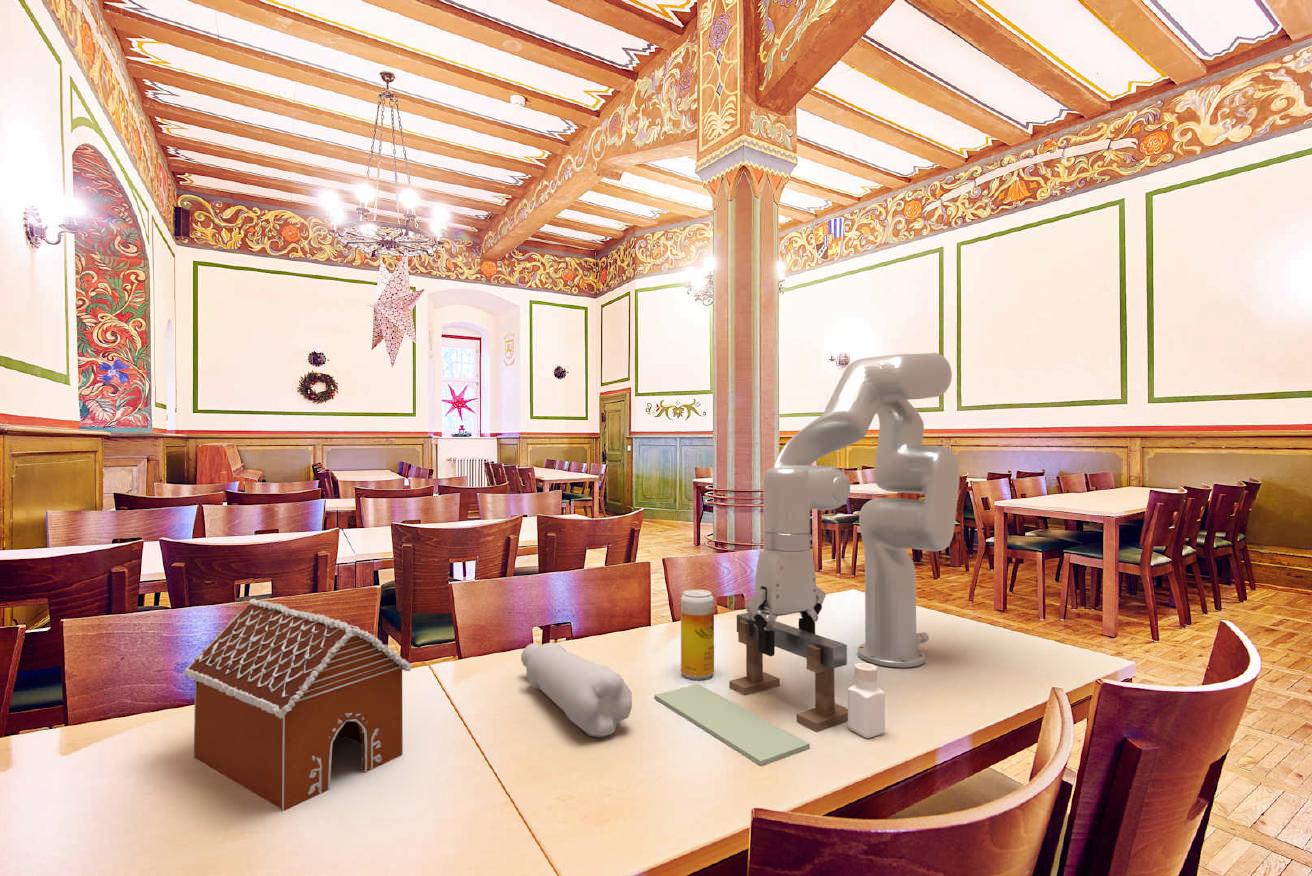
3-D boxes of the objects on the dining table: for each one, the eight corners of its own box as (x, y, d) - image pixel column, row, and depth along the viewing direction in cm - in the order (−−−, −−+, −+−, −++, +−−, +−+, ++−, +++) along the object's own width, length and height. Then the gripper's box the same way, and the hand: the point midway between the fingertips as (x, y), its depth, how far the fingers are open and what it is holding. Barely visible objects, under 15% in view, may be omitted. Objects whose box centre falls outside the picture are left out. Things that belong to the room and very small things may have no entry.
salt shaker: (866, 740, 88) (866, 673, 88) (846, 729, 91) (845, 664, 92) (886, 734, 90) (886, 668, 90) (865, 723, 93) (865, 660, 94)
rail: (736, 631, 110) (736, 614, 110) (749, 629, 111) (749, 612, 112) (833, 668, 91) (832, 648, 91) (846, 664, 93) (846, 644, 93)
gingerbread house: (275, 822, 69) (278, 641, 69) (175, 760, 82) (177, 609, 83) (418, 753, 84) (420, 606, 85) (314, 711, 98) (315, 584, 99)
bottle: (647, 707, 92) (565, 656, 117) (617, 661, 89) (539, 620, 115) (602, 755, 87) (526, 692, 113) (568, 708, 85) (499, 655, 110)
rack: (764, 678, 112) (763, 614, 112) (853, 719, 95) (852, 643, 95) (729, 687, 107) (729, 621, 108) (816, 731, 91) (815, 652, 91)
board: (698, 687, 108) (698, 684, 108) (809, 748, 86) (809, 743, 86) (654, 698, 103) (654, 694, 103) (760, 765, 81) (760, 761, 81)
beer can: (712, 682, 110) (711, 597, 110) (678, 679, 111) (678, 595, 112) (715, 670, 116) (715, 589, 116) (683, 668, 117) (683, 588, 118)
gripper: (807, 536, 110) (807, 635, 109) (730, 543, 100) (730, 651, 100) (840, 541, 103) (841, 646, 103) (762, 550, 94) (762, 665, 93)
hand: (787, 648), depth 101 cm, fingers open, 8 cm apart
